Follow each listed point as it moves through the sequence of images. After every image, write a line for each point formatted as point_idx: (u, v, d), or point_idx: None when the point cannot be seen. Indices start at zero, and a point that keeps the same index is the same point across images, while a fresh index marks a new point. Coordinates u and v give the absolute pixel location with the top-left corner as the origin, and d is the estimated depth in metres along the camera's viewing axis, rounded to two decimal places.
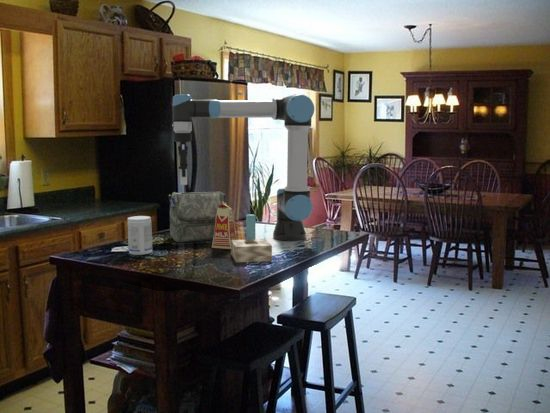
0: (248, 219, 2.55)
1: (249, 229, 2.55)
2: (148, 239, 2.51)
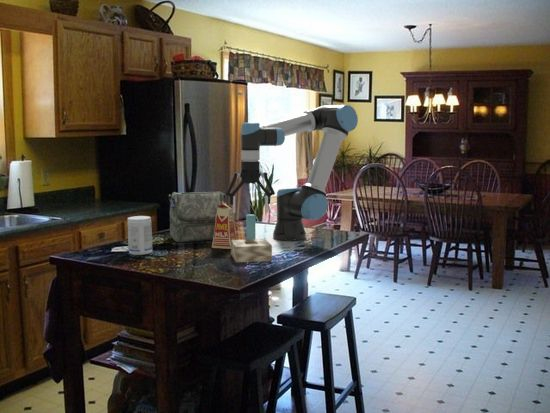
0: (248, 219, 2.55)
1: (249, 229, 2.55)
2: (148, 239, 2.51)
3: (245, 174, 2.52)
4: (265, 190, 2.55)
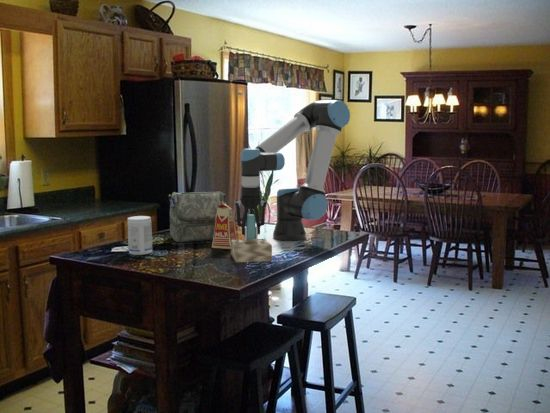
0: (248, 219, 2.55)
1: (249, 228, 2.55)
2: (148, 239, 2.51)
3: (245, 199, 2.54)
4: (257, 219, 2.56)
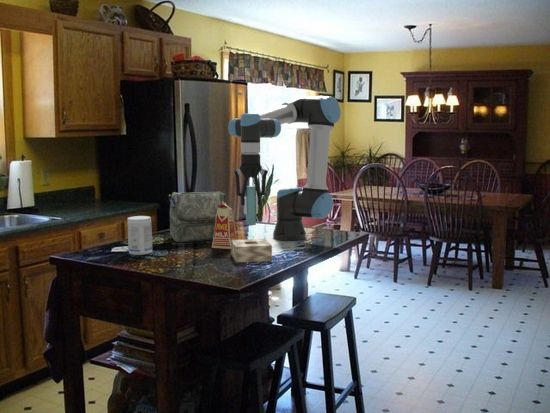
0: (248, 190, 2.40)
1: (248, 201, 2.40)
2: (148, 239, 2.51)
3: (244, 167, 2.39)
4: (257, 189, 2.41)
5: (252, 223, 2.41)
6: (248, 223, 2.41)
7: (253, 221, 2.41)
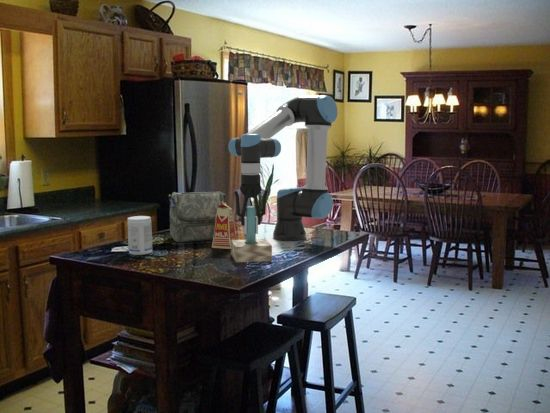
0: (248, 211, 2.41)
1: (248, 221, 2.41)
2: (148, 239, 2.51)
3: (245, 187, 2.40)
4: (258, 209, 2.42)
5: (252, 243, 2.42)
6: (248, 243, 2.42)
7: (253, 241, 2.43)
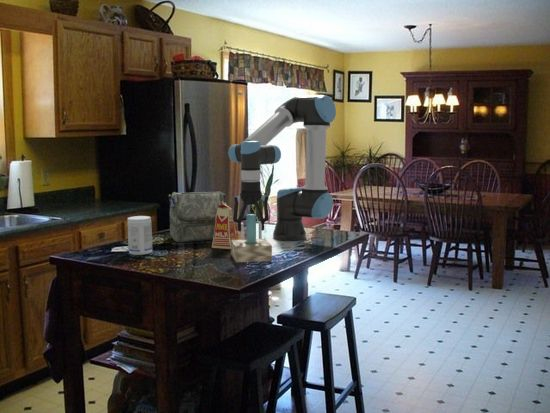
0: (248, 219, 2.41)
1: (249, 229, 2.42)
2: (148, 239, 2.51)
3: (245, 194, 2.40)
4: (260, 215, 2.42)
5: None
6: None
7: None
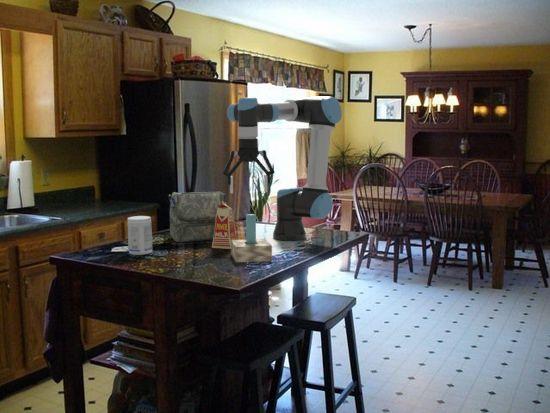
0: (248, 219, 2.41)
1: (249, 229, 2.42)
2: (148, 239, 2.51)
3: (243, 152, 2.39)
4: (264, 169, 2.41)
5: None
6: None
7: None
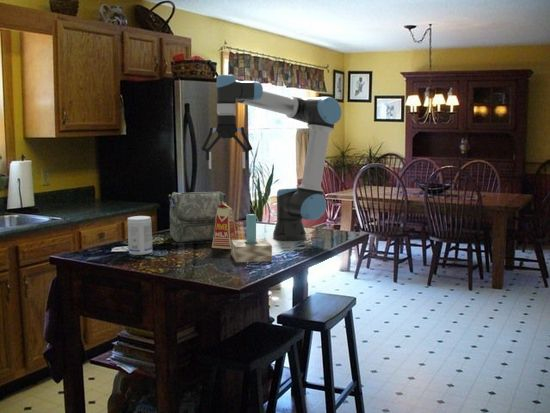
0: (248, 219, 2.41)
1: (249, 229, 2.42)
2: (148, 239, 2.51)
3: (221, 128, 2.45)
4: (242, 145, 2.47)
5: None
6: None
7: None
